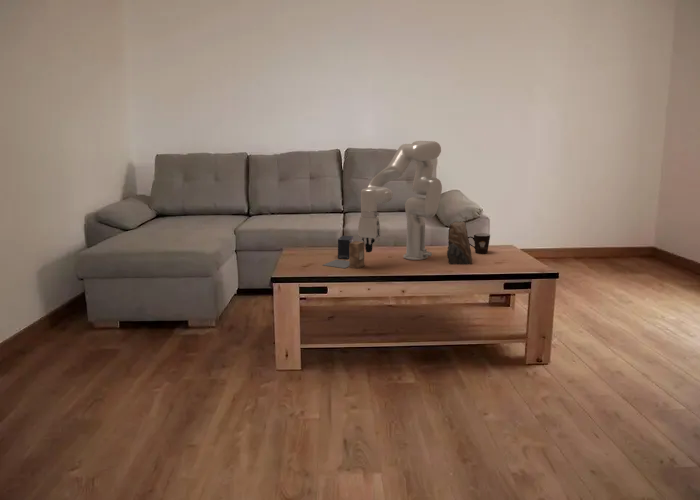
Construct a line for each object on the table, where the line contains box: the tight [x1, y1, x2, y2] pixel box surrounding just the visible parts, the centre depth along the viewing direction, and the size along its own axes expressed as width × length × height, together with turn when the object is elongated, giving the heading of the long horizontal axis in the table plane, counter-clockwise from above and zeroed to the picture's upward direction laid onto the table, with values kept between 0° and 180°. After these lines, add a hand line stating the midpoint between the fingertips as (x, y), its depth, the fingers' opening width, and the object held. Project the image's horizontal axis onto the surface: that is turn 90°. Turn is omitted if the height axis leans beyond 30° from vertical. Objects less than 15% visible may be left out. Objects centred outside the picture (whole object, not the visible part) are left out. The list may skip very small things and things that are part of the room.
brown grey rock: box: [446, 221, 473, 265], centre depth 295 cm, size 13×13×20 cm
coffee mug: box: [468, 232, 491, 255], centre depth 316 cm, size 12×9×10 cm
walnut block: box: [348, 240, 365, 269], centre depth 288 cm, size 5×6×12 cm
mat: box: [322, 258, 351, 269], centre depth 294 cm, size 13×13×1 cm
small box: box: [337, 235, 354, 260], centre depth 308 cm, size 11×6×10 cm, turn 168°
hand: (368, 251), depth 284 cm, fingers closed
